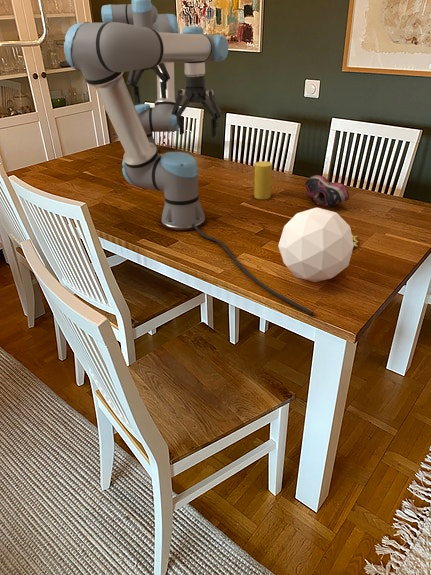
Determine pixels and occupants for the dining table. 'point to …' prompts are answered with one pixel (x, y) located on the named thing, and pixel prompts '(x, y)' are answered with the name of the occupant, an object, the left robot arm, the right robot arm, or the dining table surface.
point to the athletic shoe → (326, 191)
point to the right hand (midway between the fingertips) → (197, 135)
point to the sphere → (316, 244)
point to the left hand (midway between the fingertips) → (151, 100)
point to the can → (263, 180)
